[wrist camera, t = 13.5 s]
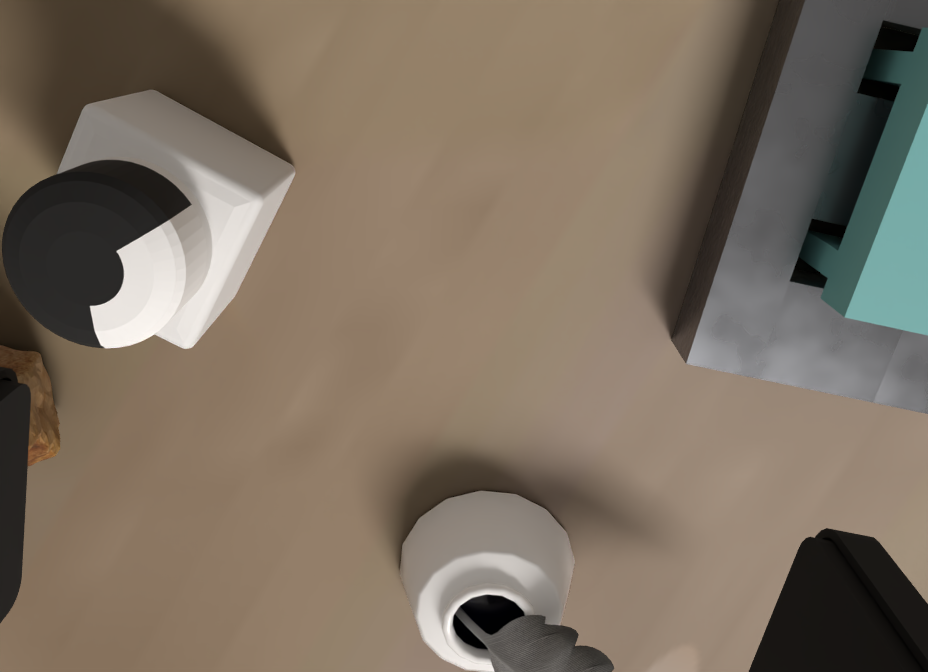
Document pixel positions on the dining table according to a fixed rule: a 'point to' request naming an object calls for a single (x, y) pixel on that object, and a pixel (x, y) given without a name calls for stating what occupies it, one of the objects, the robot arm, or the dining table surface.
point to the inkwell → (494, 586)
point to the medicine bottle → (142, 224)
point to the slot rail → (801, 215)
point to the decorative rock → (36, 402)
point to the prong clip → (886, 211)
